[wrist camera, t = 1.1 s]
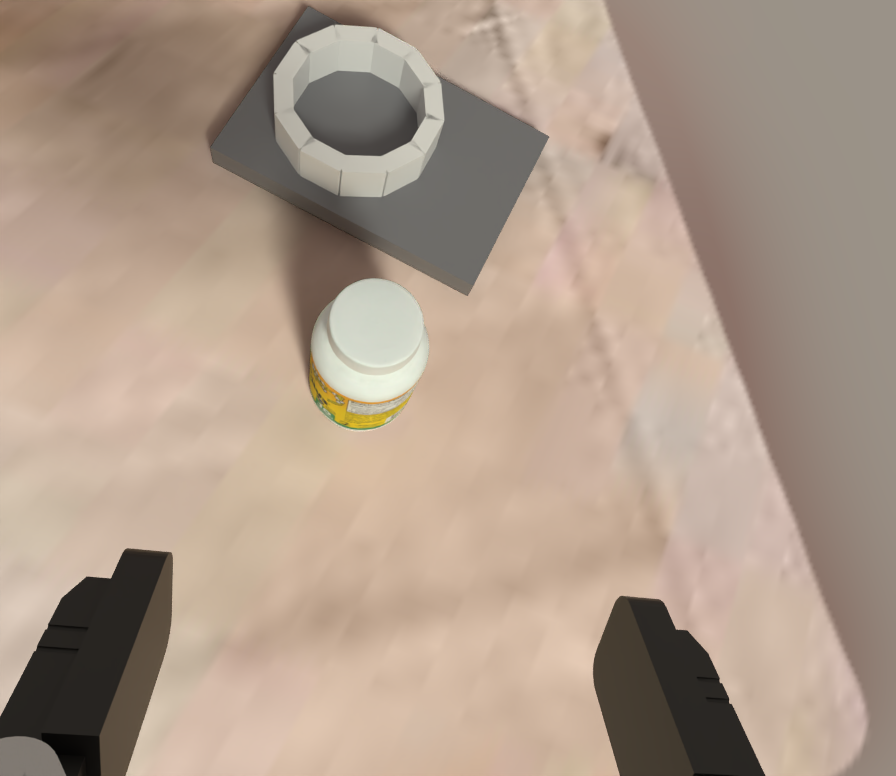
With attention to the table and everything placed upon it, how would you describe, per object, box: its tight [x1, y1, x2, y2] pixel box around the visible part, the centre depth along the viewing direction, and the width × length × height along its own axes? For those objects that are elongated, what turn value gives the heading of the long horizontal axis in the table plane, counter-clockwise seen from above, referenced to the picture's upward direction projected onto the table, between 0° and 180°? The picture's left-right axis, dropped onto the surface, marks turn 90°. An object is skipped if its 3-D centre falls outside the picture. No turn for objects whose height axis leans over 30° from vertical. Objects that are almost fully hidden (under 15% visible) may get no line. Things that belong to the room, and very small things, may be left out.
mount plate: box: [210, 6, 549, 296], centre depth 43 cm, size 16×11×4 cm
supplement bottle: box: [309, 278, 429, 431], centre depth 36 cm, size 5×5×10 cm
